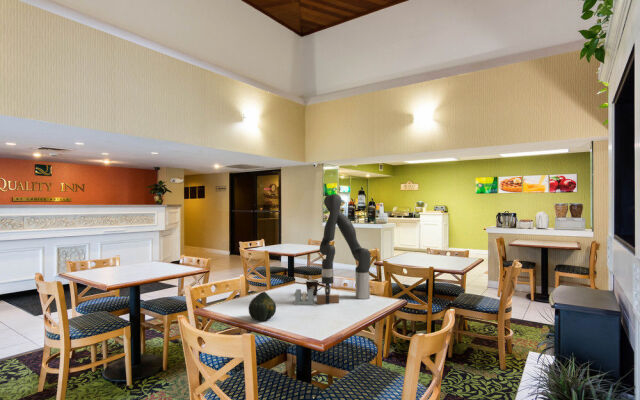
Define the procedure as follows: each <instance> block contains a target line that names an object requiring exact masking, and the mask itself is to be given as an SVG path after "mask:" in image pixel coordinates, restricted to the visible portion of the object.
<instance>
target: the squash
mask: <svg viewBox="0 0 640 400" xmlns="http://www.w3.org/2000/svg"><path fill="white" fill-rule="evenodd" d="M276 311H277V305H276V302H275V300H274V299H272V297H271V296H270V295H269V294H268V293H267V292H266V291H262V292H260V293H259V294H257V295H256V296H255V297H253V298H252V300H251V301H250V302H249V304H248V313H249V316H250V317H251V318H252V319H254V320H260V321H261V322H265V321H269V320H270V319H271V318H272V317H273V316H274V315H275V314H276Z"/></svg>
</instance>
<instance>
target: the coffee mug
mask: <svg viewBox="0 0 640 400" xmlns="http://www.w3.org/2000/svg"><path fill="white" fill-rule="evenodd" d="M319 284H322V286H321V287H320V288H319V287H318V286H319ZM305 285H306V295H308V292H309V289H313V297H317V295H318V292H319V290H321V289H322V288H323V287H324V284H323V283H322V281H319V280H318V279H306V280H305ZM318 288H319V289H318Z"/></svg>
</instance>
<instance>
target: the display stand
mask: <svg viewBox="0 0 640 400" xmlns="http://www.w3.org/2000/svg"><path fill="white" fill-rule="evenodd" d="M314 303H315V298H314V296H313V289H309V292H308V294H307V291H306V292H305V291H303V292H302V289H301V288H299V289H297V288H296V289H295V291H294V302H293V304H294V306H295V305H296V306H313V305H314Z"/></svg>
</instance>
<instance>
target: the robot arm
mask: <svg viewBox="0 0 640 400" xmlns="http://www.w3.org/2000/svg"><path fill="white" fill-rule="evenodd" d="M323 202H324V203H323V204H324V206H325V208H326V209H327V210H328V212H329V215H328V218H327V220H326V223H325V224H324V229H323V237H322V240H321V242H320V245H319V252H320V254H321V255H323V256H325V258H323V259H322V261H321V282H322V283H323V284H322V283H321V284H322V285H324V286H323V287H324V295H326V296H325V297H326V305H327V304H329V298H330V295H331V288H332V286H331V284H334V259H335V255H336V248H335V246H334V244H330V243H331V242H332V241H334V240H335V234H336V226H337V227H338V229H339V231H340V233H341V235H342V236H343V238H344V240H345V242H346V243H347V245H348V247H349V249H350V251H351V254H352V257H353V258H354V259H355V260H356V261H357V262H358V264H357V266H356V267H355V272H354V273H355V274H354V276H355V283H354V284H355V298H356V299H358V300H368V299H370V298H371V297H370V295H371V294H370V293H371V292H370V291H371V290H370V268H371V260H372V259H371V252H370V250H369V249H368V248H365V247H362V246H361V245H360V243H359V242H358V241H359V240H358V239H357V233H356V232H357V231H356V229H355V227H354V225H353V222H352V221H351V220H350V218H349V217H348V216H346V215H345V214H344V213H343V211H341V206H342V202H343V201H342V198H341V196H340V194H337V193H333V194H328V195H326V196H325V197H324V199H323Z"/></svg>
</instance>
